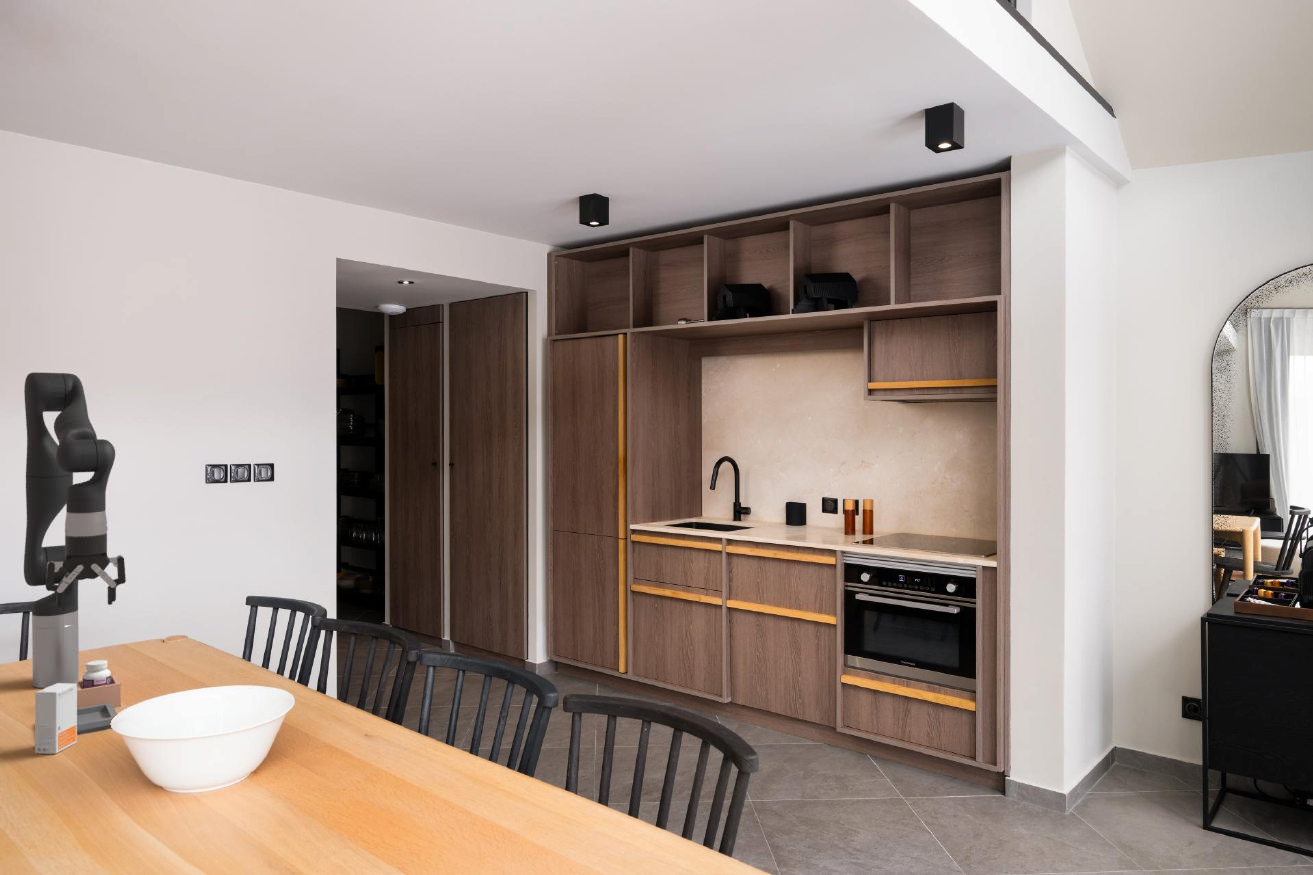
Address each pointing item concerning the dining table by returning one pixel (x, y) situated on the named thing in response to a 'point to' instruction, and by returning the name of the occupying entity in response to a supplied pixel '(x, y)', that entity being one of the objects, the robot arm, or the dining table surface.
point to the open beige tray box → (99, 694)
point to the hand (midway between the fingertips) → (86, 606)
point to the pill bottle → (96, 674)
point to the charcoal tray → (95, 718)
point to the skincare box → (55, 718)
